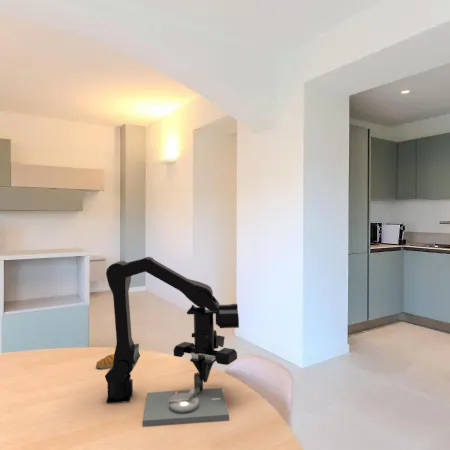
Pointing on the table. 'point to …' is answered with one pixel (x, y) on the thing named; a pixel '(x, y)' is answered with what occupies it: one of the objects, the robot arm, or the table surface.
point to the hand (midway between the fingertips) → (205, 382)
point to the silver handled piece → (187, 397)
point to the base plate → (206, 412)
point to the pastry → (105, 362)
